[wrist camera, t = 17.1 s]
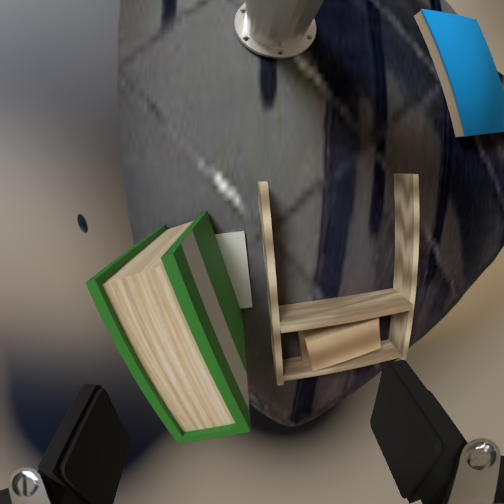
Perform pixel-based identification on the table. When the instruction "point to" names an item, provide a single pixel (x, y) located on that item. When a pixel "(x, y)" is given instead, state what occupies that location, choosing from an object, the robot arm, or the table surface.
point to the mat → (236, 265)
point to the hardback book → (179, 329)
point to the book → (464, 72)
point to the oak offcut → (341, 342)
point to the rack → (353, 306)
